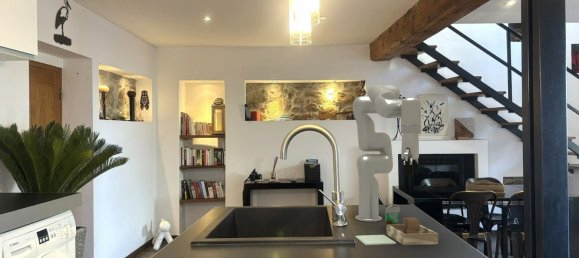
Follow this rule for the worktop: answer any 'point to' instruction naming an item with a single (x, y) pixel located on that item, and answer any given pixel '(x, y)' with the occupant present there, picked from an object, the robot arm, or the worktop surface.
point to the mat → (375, 239)
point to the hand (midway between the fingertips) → (411, 174)
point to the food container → (391, 214)
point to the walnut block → (411, 226)
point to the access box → (412, 235)
